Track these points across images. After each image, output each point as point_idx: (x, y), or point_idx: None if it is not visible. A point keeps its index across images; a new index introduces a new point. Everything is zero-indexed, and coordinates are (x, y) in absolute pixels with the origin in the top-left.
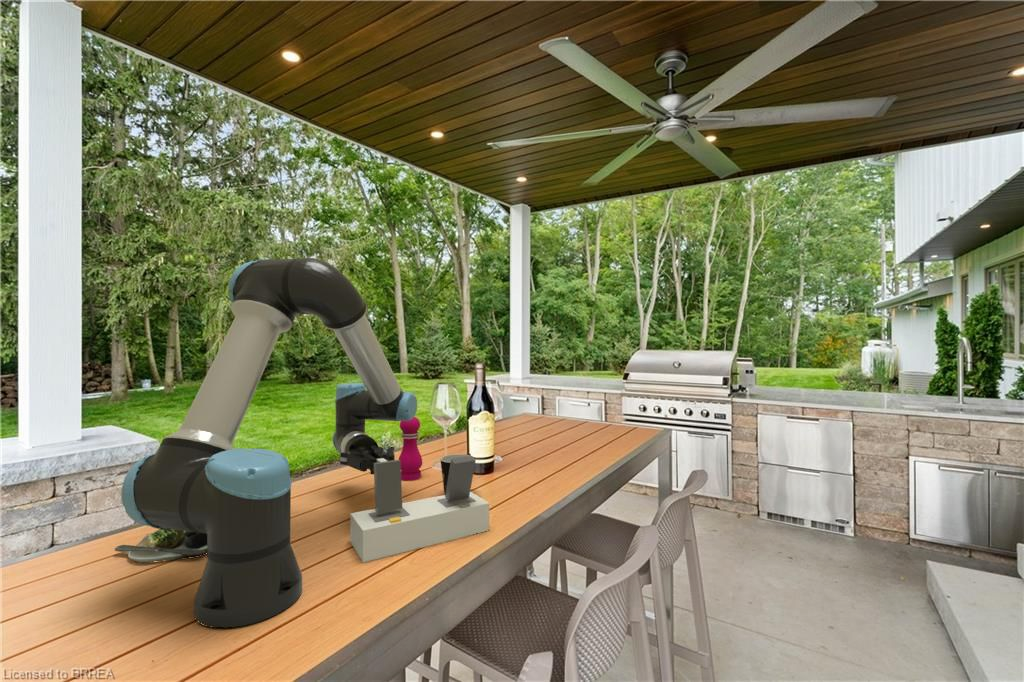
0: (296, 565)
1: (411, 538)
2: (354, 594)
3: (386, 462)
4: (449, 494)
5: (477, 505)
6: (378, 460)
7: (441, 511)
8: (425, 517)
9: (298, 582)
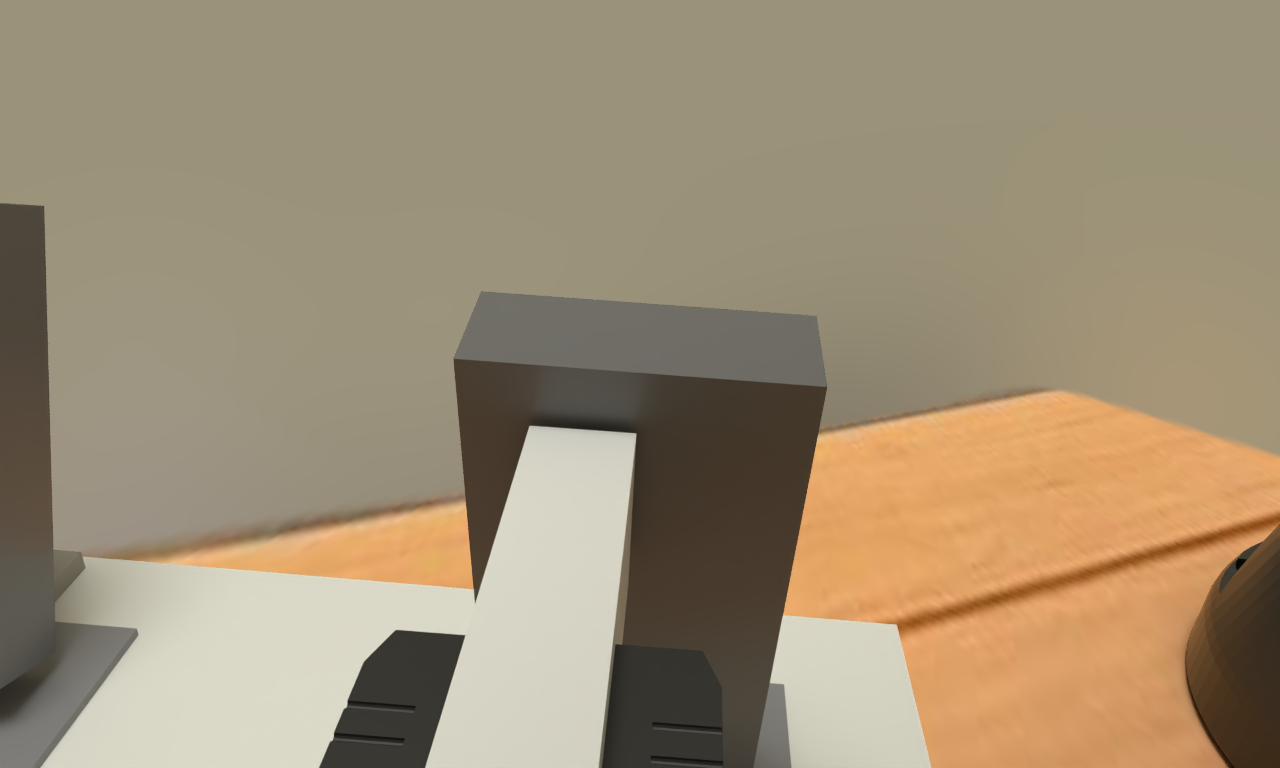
0: (1265, 576)
1: None
2: (927, 564)
3: (669, 313)
4: (53, 568)
5: None
6: (604, 726)
7: (238, 599)
8: (408, 586)
9: (1214, 598)
